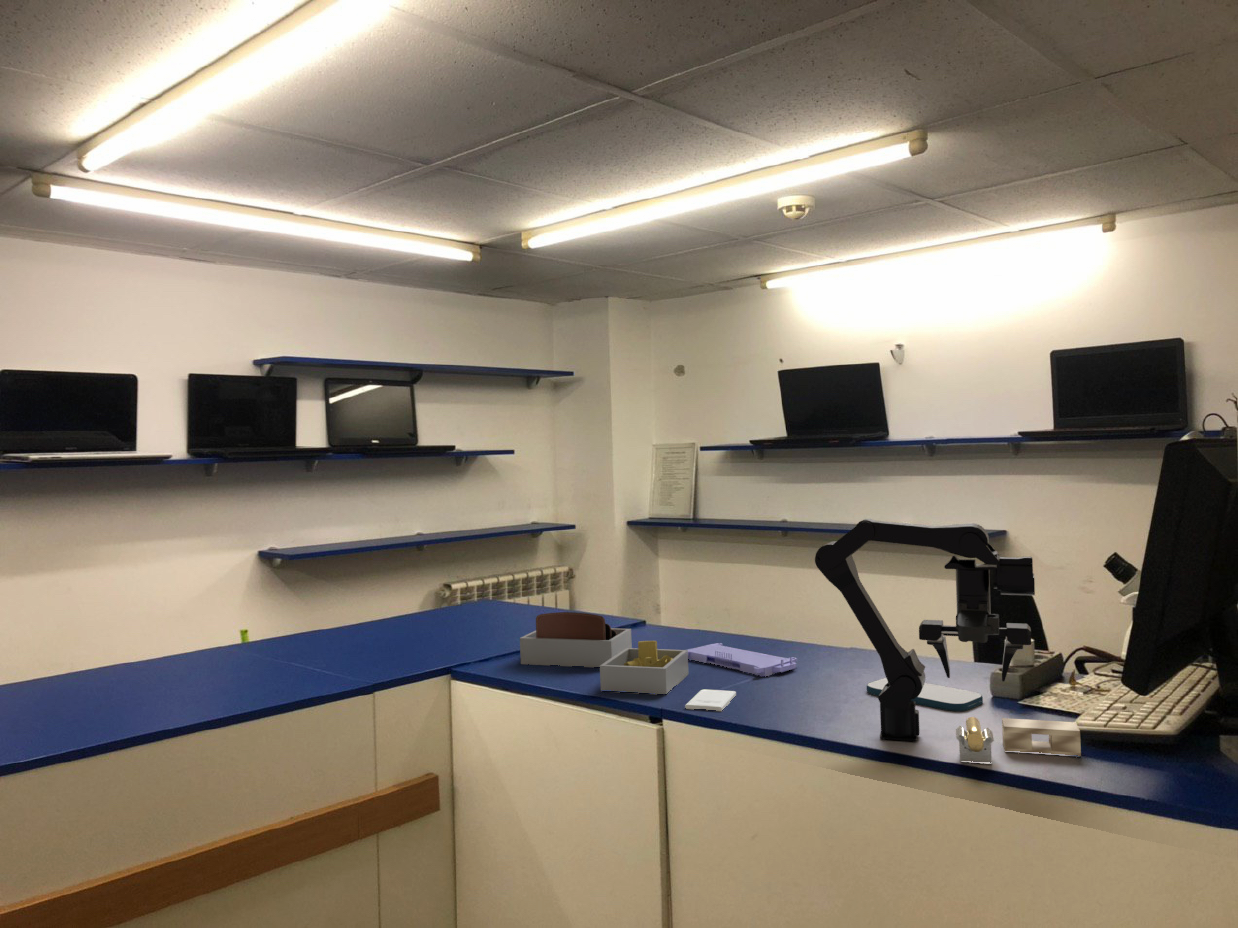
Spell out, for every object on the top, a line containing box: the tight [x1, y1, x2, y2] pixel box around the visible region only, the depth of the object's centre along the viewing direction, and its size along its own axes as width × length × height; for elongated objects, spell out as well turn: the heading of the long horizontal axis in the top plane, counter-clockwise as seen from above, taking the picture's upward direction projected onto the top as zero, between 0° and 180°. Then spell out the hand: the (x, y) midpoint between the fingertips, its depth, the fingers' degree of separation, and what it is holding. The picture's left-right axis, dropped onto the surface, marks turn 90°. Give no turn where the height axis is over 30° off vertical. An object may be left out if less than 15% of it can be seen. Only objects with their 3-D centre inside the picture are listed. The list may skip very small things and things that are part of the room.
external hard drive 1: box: [684, 689, 737, 712], centre depth 195 cm, size 2×8×12 cm
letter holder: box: [535, 611, 617, 640], centre depth 239 cm, size 10×20×14 cm, turn 71°
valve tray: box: [599, 647, 689, 695], centre depth 214 cm, size 16×19×6 cm
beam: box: [1001, 717, 1082, 757], centre depth 157 cm, size 12×5×5 cm, turn 70°
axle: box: [965, 716, 984, 752], centre depth 154 cm, size 2×12×2 cm, turn 161°
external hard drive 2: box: [866, 677, 984, 712], centre depth 193 cm, size 24×12×2 cm, turn 40°
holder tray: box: [519, 627, 633, 668], centre depth 242 cm, size 26×16×7 cm, turn 70°
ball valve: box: [624, 640, 673, 667], centre depth 215 cm, size 13×10×10 cm
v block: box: [955, 725, 995, 763], centre depth 154 cm, size 5×6×5 cm
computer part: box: [687, 642, 798, 678], centre depth 229 cm, size 30×4×15 cm
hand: (975, 679), depth 162 cm, fingers open, 9 cm apart
